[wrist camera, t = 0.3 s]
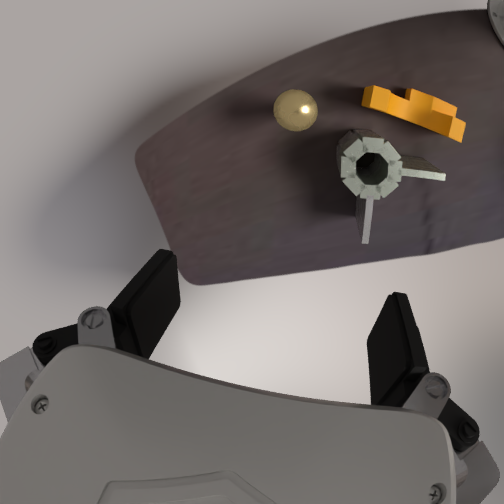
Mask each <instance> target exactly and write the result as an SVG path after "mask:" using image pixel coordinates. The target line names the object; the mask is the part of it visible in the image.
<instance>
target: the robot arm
mask: <svg viewBox="0 0 504 504" xmlns="http://www.w3.org/2000/svg"><path fill="white" fill-rule="evenodd" d="M487 10H488V16H489V19H490V22H491V24H492V27H493V29H494V31H495V33H496V35H497V36H498V38H499V40H500V41H501V43H502V44H503V45H504V0H488V3H487ZM180 302H181V301H180V291H179V281H178V270H177V258H176V255H173V252H172V251H169V250H164V249H159V250H158V251H157V252H156V253H155V254H154V255H153V256H152V257H151V259H150V260H149V261H148V262H147V263H146V264H145V265H144V266H143V268H142V269H141V270H140V271H139V272H138V273H137V274H136V275H135V276H134V277H133V279H132V280H131V281H130V282H129V283H128V284H127V285H126V287H125V288H124V289H123V290H122V291H121V292H120V294H119V295H118V296H117V297H116V298H115V299H114V301H113V302H112V303H111V304H110V305H109V307H108V308H107V309H105V308H103V307H98V306H96V307H91V308H88V309H86V310H84V311H83V312H82V313H81V314H80V316H79V318H78V323H77V324H74V325H70V326H67V327H63V328H59V329H56V330H52V331H48V332H45V333H42V334H40V335H39V336H38V337H37V338H36V339H35V341H34V343H33V347H32V348H31V349H30V348H29V347H26V348H24V349H23V350H21V351H19V352H17V353H16V354H14V355H12V356H10V357H9V358H7V359H5V360H3V361H1V362H0V400H1V403H2V406H3V409H4V412H5V415H6V418H7V421H8V424H7V426H6V428H5V430H4V432H3V434H2V436H1V438H0V504H480V503H481V502H482V501H483V500H484V498H485V497H486V496H487V495H488V494H489V493H490V492H491V491H492V490H493V488H494V487H495V486H496V485H497V483H498V481H499V478H500V472H499V469H498V467H497V465H496V463H495V461H494V460H493V458H492V456H491V454H490V453H489V451H488V449H487V448H486V446H485V444H484V443H483V441H481V442H479V440H478V438H479V427H478V425H477V423H476V422H475V420H474V419H472V418H471V417H470V416H469V415H468V414H467V413H466V412H465V411H463V410H462V409H461V408H460V407H459V406H458V405H457V404H456V403H454V402H453V401H452V400H451V399H450V398H449V396H450V393H451V389H450V385H449V383H448V381H447V379H446V378H444V377H443V376H442V375H440V374H438V373H435V372H434V373H430V371H429V367H428V362H427V359H426V355H425V350H424V347H423V343H422V340H421V336H420V332H419V329H418V327H417V326H416V322H415V319H414V316H413V313H412V309H411V306H410V303H409V300H408V297H407V295H406V294H405V293H399V292H393V293H392V295H388V297H387V299H386V301H385V304H384V306H383V308H382V310H381V312H380V314H379V316H378V318H377V321H376V322H375V324H374V326H373V328H372V330H371V333H370V334H369V336H368V339H367V350H368V363H369V375H370V392H371V405H366V404H356V403H346V402H336V401H328V400H320V399H312V398H305V397H299V396H293V395H287V394H281V393H276V392H270V391H265V390H260V389H255V388H250V387H246V386H241V385H237V384H233V383H228V382H224V381H220V380H216V379H213V378H209V377H205V376H201V375H198V374H194V373H190V372H187V371H184V370H181V369H177V368H174V367H171V366H167V365H165V364H161V363H158V362H155V361H152V360H149V358H150V356H151V354H152V352H153V351H154V349H155V347H156V345H157V344H158V342H159V341H160V339H161V337H162V335H163V334H164V332H165V330H166V329H167V327H168V325H169V324H170V322H171V320H172V319H173V317H174V315H175V314H176V312H177V310H178V309H179V307H180Z"/></svg>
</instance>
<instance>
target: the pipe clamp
mask: <svg viewBox="0 0 504 504" xmlns="http://www.w3.org/2000/svg"><path fill="white" fill-rule="evenodd" d="M361 106H364V107H367V108H371V109H374V110H377V111H380V112H383V113H386V114H389V115H392V116H395V117H398V118H401V119H404V120H406V121H409V122H412V123H414V124H417V125H419V126H422V127H424V128H427V129H429V130H432V131H434V132H436V133H439V134H441V135H444V136H446V137H449V138H451V139H454V140H456V141H458V142H461V141H462V137H463V133H464V129H465V124H466V123H465V122H463V121H461V120H459V119H457V118H455V115H456V110H457V107H455V106H453V105H451V104H449V103H447V102H444V101H442V100H440V99H438V98H436V97H433V96H430V95H428V94H425V93H422V92H420V91H417V90H415V89H412V88H411V89H406V94H405V99H403V98H401V97H399V96H396V95H394V94H392V93H391V91H390V90H387V89H384V88H381V87H378V86H375V85H373V86H369V87H365V89H364V94H363V99H362V104H361Z"/></svg>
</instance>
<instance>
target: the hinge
mask: <svg viewBox="0 0 504 504" xmlns="http://www.w3.org/2000/svg"><path fill="white" fill-rule="evenodd" d="M338 142H339V145H337V165H338V168H339V172H340V176H341V178H342V181H343V183H344V184H345V185H346V186H347V187H348V188H349V189H350V190H351V191H352V192H353V193H354V194H355V196H357V199H356V212H355V218H356V222H357V226H358V230H359V234H360V238H361V242H362V243H364V244H368V241H369V234H370V226H371V218H372V209H373V199H379V200H380V194H381V196H382V197H383V198H385V197H386V196H387V195H388V194H389V193H391V192H392V191H393V190H394V189H395V188H396V187H398V186H399V185H398V184H397V183H396V181H397V182H401V175H403V176H412V177H421V178H429V179H436V180H443V181H445V176H446V174H445V173H444V172H442V171H441V170H440V169H438V168H437V167H435V166H434V165H432V164H431V163H430V162H428V161H427V160H425V159H424V158H418V157H411V156H403V155H399V154H398V153H397V151H396V150H395V149H394V148H393V147H392V145H391V144H390V143H389V142H388V141H387V140H386V139H384V138H382V137H381V136H379V135H378V134H376V133H375V132H372V131H371V130H360V129H354V133H353V132H352V131H351V130H350V131H349V132H348V133H347V134H346V135H344V136H343V137H342V138H341V139H340V140H339V141H338ZM366 152H371V153H375V157H374V162H372V163H371V164H370V165H369V166H368V167H367V168H362V167H356V161H357V160H358V159H359V158H360V157H361V156H362V155H363V154H365V153H366Z"/></svg>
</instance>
